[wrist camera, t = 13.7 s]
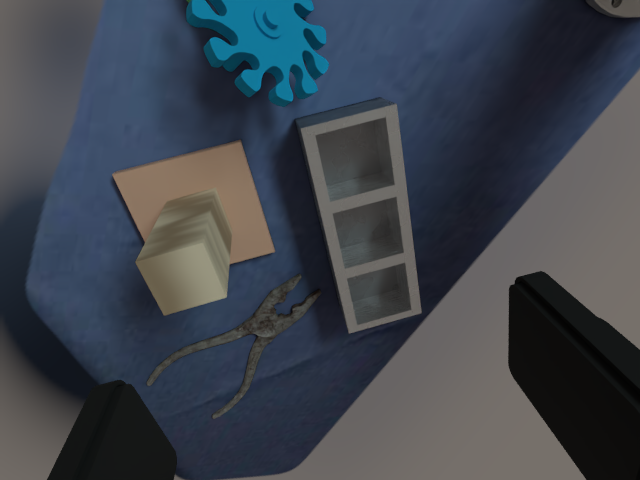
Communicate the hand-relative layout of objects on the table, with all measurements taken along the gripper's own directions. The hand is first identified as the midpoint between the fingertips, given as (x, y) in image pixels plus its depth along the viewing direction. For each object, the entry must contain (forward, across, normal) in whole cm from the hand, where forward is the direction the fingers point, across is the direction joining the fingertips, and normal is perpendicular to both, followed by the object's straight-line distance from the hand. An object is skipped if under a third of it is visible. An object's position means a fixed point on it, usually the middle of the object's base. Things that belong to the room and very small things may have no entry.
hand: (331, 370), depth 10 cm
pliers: (+25, +11, +18) cm, 32 cm away
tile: (+24, +8, +4) cm, 26 cm away
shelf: (+25, -4, +8) cm, 27 cm away
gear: (+25, 0, -8) cm, 27 cm away
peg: (+24, +8, +4) cm, 25 cm away
